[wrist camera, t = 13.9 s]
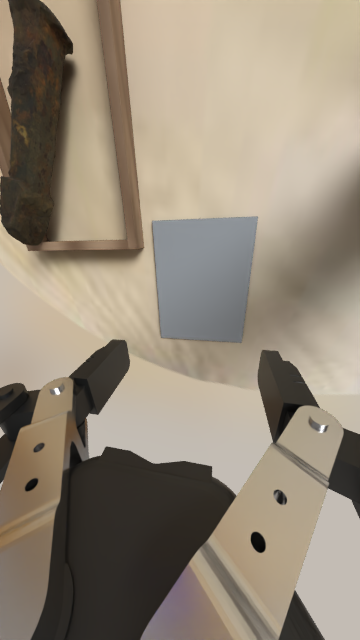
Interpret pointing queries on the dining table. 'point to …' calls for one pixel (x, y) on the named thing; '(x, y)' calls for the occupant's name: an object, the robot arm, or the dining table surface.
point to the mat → (203, 276)
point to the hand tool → (33, 119)
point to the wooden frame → (122, 133)
